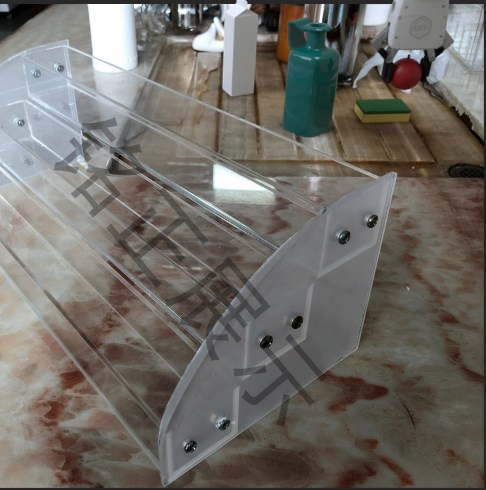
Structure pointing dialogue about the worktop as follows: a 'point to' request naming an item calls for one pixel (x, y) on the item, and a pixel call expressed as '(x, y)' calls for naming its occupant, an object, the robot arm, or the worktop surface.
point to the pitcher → (310, 79)
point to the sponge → (382, 110)
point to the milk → (239, 49)
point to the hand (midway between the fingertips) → (404, 79)
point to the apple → (406, 73)
